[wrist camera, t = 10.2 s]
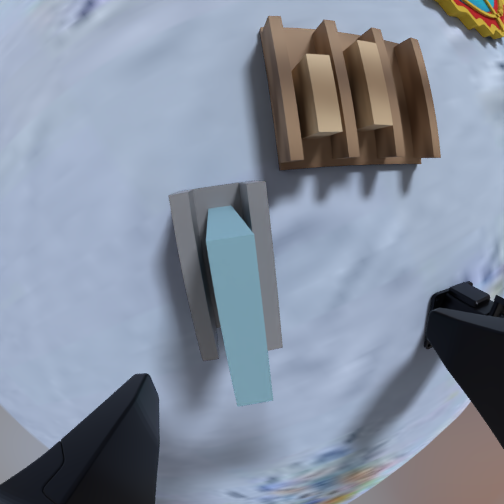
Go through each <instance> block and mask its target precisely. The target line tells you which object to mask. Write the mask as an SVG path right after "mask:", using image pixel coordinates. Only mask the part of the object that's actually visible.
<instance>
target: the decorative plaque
mask: <svg viewBox="0 0 504 504" xmlns="http://www.w3.org/2000/svg"><path fill="white" fill-rule="evenodd" d="M434 1H436V2H437V3H439V5H440V6H441V7H442V8H443V10H444V11H445V12H446V13H447V14H448V15H449V16H453V17H457V18H458V19H459V20H460V21H461V22H462V23H463V24H464V25H465V27H466V28H467V29H468V30H470V29H473V28H475V29H476V30H477V31H478V32H479V33H480V35H481V36H482V37H487V36H491V37H492V38H493V39H497V38H501V37H504V0H434Z"/></svg>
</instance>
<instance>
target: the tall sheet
mask: <svg viewBox="0 0 504 504" xmlns="http://www.w3.org/2000/svg"><path fill="white" fill-rule="evenodd" d="M206 245H207V251H208V257H209V263H210V269H211V275H212V281H213V287H214V293H215V298H216V304H217V309H218V315H219V320H220V325H221V330H222V335H223V341H224V346H225V350H226V355H227V360H228V365H229V370H230V375H231V379H232V384H233V388H234V393H235V397H236V402H237V406H244V405H250V404H256V403H262V402H267V401H272V400H273V394H272V385H271V376H270V367H269V358H268V350H267V341H266V332H265V323H264V314H263V306H262V297H261V288H260V280H259V271H258V263H257V254H256V245H255V237H254V233H253V232H252V231H251V230H250V228H249V227H248V226H247V225H246V223H245V222H244V221H243V220H242V218H241V217H240V216H239V215H238V213H237V212H236V211H235V210H234V208H233V207H232V206H224V207H217V208H210V209H208V220H207V234H206Z"/></svg>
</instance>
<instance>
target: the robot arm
mask: <svg viewBox="0 0 504 504" xmlns="http://www.w3.org/2000/svg"><path fill="white" fill-rule="evenodd" d="M494 300H495V301H494V302H493V301H491V300H490V295H489V294H487V293H485V292H483V291H481V290H479V289H477V288H475V287H473V284H472V282H470V281H468V282H463V283H460V284H458V285H455V286H452V287H450V288H449V289H446V290H443V291H440V292H437V293H435V294H434V295H433V297H432V302H431V309H430V313H429V316H428V323H427V329H426V338H425V343H424V347H425V348H426V349H430V348H432V347H433V348H434V350H435V351H436V353H437V354H438V356H439V357H440V359H441V361H442V362H443V364H444V365H445V367H446V368H447V370H448V371H449V372H450V374H451V375H452V376H453V378H454V379H455V380H456V382H457V383H458V384H459V386H460V387H461V388H462V390H463V391H464V392H465V394H466V395H467V396H468V398H469V399H470V400H471V402H472V403H473V404H474V406H475V407H476V408H477V410H478V412H479V413H480V414H481V416H482V417H483V419H484V420H485V422H486V423H487V425H488V426H489V428H490V429H491V430H492V432H493V433H494V435H495V437H496V438H497V440H498V441H499V443H500V444H501V446H502V447H503V449H504V299H503V298H502V297H500V296H498V295H496V296H495V299H494ZM159 444H160V436H159V397H158V393H157V391H156V389H155V386H154V384H153V382H152V379H151V377H150V375H149V374H147V373H143V374H135V375H133V376H132V377H131V378H130V379H129V380H128V381H127V382H126V383H124V384H123V385H122V386H121V387H120V388H119V389H118V390H117V391H116V392H114V393H113V394H112V395H111V396H110V397H109V398H108V399H107V400H105V401H104V402H103V403H102V404H101V405H100V406H99V407H98V408H96V409H95V410H94V411H93V412H92V413H91V414H90V415H89V416H87V417H86V418H85V419H84V420H83V421H82V422H81V423H79V424H78V425H77V426H76V427H75V428H74V429H73V430H71V431H70V432H69V433H68V434H67V435H66V436H65V437H63V438H62V439H61V441H59V442H58V443H56V444H55V445H54V446H53V447H52V448H51V449H50V450H48V451H47V452H46V453H45V454H43V455H42V456H41V457H40V458H38V459H37V460H36V461H34V462H33V463H32V464H30V465H29V466H27V467H26V468H25V469H23V470H22V471H20V472H19V473H17V474H16V475H14V476H13V477H11V478H10V479H8V480H7V481H5V482H4V483H2V484H1V485H0V504H155V495H156V480H157V467H158V456H159Z"/></svg>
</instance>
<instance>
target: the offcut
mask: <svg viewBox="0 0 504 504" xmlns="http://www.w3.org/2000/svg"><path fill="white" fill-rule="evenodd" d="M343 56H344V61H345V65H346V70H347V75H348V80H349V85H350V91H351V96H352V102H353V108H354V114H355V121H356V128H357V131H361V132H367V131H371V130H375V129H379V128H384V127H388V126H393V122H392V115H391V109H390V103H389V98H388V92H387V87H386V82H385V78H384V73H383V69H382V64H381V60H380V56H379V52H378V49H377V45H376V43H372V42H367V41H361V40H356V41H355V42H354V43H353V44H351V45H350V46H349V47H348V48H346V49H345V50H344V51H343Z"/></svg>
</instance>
